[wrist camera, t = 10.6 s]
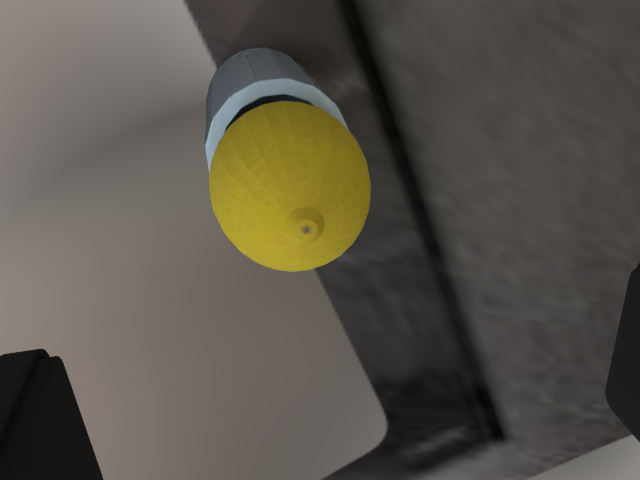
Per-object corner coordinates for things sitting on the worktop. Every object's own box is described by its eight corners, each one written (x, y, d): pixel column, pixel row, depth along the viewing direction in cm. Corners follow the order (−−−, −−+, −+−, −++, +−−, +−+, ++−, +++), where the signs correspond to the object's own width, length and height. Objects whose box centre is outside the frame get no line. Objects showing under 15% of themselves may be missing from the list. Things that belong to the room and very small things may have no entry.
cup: (199, 52, 28) (195, 87, 20) (309, 42, 29) (347, 72, 21) (215, 159, 31) (217, 227, 23) (317, 148, 32) (353, 210, 24)
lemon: (367, 123, 24) (434, 191, 17) (301, 232, 25) (337, 336, 18) (248, 55, 22) (266, 99, 15) (185, 178, 23) (175, 272, 16)
